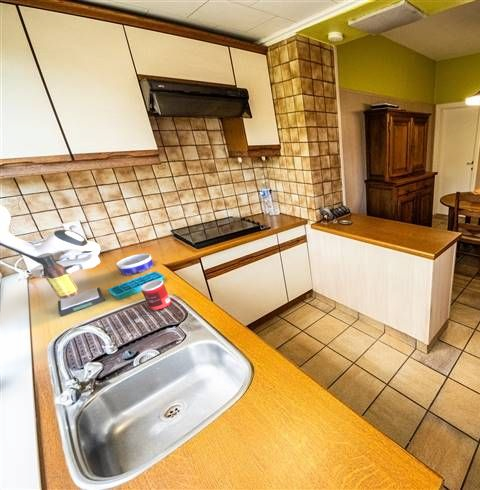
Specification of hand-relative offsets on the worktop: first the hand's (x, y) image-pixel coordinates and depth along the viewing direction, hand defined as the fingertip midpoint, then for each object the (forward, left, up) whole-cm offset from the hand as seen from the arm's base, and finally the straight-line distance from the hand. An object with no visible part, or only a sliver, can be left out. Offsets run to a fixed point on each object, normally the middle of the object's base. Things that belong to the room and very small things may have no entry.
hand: (55, 274), depth 109 cm
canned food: (+25, -28, -18) cm, 42 cm away
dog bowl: (+26, +27, -18) cm, 42 cm away
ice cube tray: (+22, 0, -18) cm, 29 cm away
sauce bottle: (0, +1, -11) cm, 11 cm away
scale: (+2, +5, -18) cm, 19 cm away
